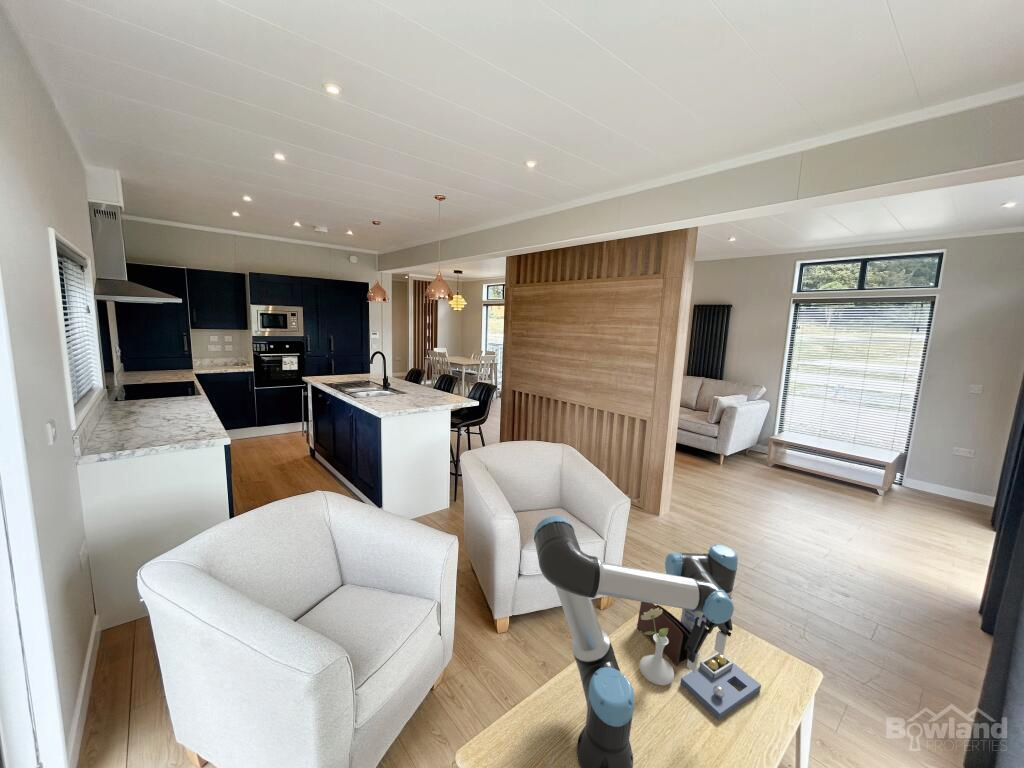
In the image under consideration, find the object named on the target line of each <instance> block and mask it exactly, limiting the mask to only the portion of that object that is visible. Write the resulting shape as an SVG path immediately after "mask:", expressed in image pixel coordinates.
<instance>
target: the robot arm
mask: <svg viewBox="0 0 1024 768" xmlns="http://www.w3.org/2000/svg"><path fill="white" fill-rule="evenodd" d="M533 533H534V534H533V536H534V537H533V541H534V544H535V549H536V554H537V560H538V565H539V569H540V571H541V574H542V575H543V577H544V578H545V579H546V580H547V581H548V582H549V583H550V584H551V585H552V586H554V587H555V589H556V593H557V596H558V599H559V601H560V603H561V607H562V610H563V612H564V616H565V619H566V621H567V624H568V627H569V630H570V633H571V636H572V639H573V640H572V642H571V652H572V654H573V657H574V660H575V663H576V666H577V668H578V672H579V676H580V680H581V684H582V688H583V694H584V697H585V701H586V708H587V709H586V719H585V720H586V721H585V725H584V727H583V728H582V730H581V732H580V733H579V735H578V738H577V743H576V744H577V745H576V757H577V758H578V759H577V758H576V759H577V762H578V765H579V766H580V768H634V767H633V766H634V754H633V751H632V745H631V742H630V737H631V728H632V723H633V722H632V721H633V714H634V711H635V694H634V690H633V689H634V688H633V685H632V683H631V682H630V680H629V679H628V678H627V676H626V675H624V674H622V672H621V669H620V667H619V664H618V661H617V658H616V655H615V652H614V647H613V645H612V643H611V640H610V638H609V635H608V634H607V633H606V631H604V630H603V629H601V625H600V623H599V619H598V616H597V614H596V611H595V608H594V604H593V601H592V599H594V598H596V597H598V596H601V595H602V596H606V597H612V598H617V599H624V600H630V601H635V602H640V603H641V602H647V603H653V604H654V605H659V606H666V607H670V608H671V607H672V608H677V609H681V610H682V609H688V610H694V611H699V612H703V616H702V618H699V617H696V620H695V624H694V627H693V629H692V631H691V634H690V636H689V638H688V640H687V643H686V645H685V649H686V650H687V651H688V652H689V655H688V661H687V662H686V663H687V664H686V667H687V668H688V669H689V670H690V671H691V672H692V671H693V672H694V673H696V672H697V668H698V666H699V665H698V664H699V659H700V652H699V651H700V649H701V648H702V646H703V644H704V642H705V640H706V639H707V636H708V635H709V634H710V635H711V634H712V632H713V630H714V629H715V628H718V629H719V630H717V632H716V636H715V643H714V651H716V653H717V652H718V653H720V654H721V655H724V656H725V649H726V642H727V637H731V636H732V633H731V632H732V631H733V627H734V626H733V623H732V616H733V614H734V611H735V609H734V607H735V606H734V604H733V601H732V600H733V596H732V595H733V591H734V584H735V580H736V575H737V571H738V561H739V560H738V555H737V553H736V552H735V551H734V550H733V549H731V548H730V547H729V546H726V545H722V544H714V545H711V546H710V547H709V550H708V553H693V552H692V553H691V552H671V553H668V554H667V556H666V557H665V560H664V567H665V568H664V569H665V573H664V572H660V571H659V572H658V571H653V570H648V569H642V568H636V567H631V566H624V565H619V564H616V563H615V564H614V563H609V562H608V563H607V562H603V561H600V559H599V557H598V556H593V555H589V554H586V553H585V552H583V551H582V550H581V547H580V545H579V542H578V538H577V537H576V533H575V529H574V526H573V525H572V524H571V523H570V521H569V520H568V519H566V518H565V517H561V516H559V515H558V516H557V515H553V516H552V515H551V516H547V517H546V518H544V519H542V520H540V522H539V523H538V524H537V525H536V527H535V529H534V532H533ZM705 627H707V629H706V628H705Z"/></svg>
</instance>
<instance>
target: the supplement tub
mask: <svg viewBox="0 0 1024 768" xmlns="http://www.w3.org/2000/svg"><path fill="white" fill-rule="evenodd" d="M680 615H681V616H680V622H681V623H682V624H684V625H685V626H686V627H687V628H688V629H689V630H690V631H692V629H693V627H694V624H695V620H696V617H699V618H702V616H703V612H699V611H694V610H688V609H682V608H681V614H680ZM705 628H706V629H708V627H705Z"/></svg>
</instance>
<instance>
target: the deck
mask: <svg viewBox="0 0 1024 768" xmlns="http://www.w3.org/2000/svg"><path fill="white" fill-rule="evenodd" d="M718 654H720V653H718V652H717V651H716V653H714V654H712V655H710V656H708V657H706V658H704V660H701V661H700V662H699V667H697V672H696V673H694V672H693V671H692V670H691V671H690V672H689V673H686V674H685V675H684V676H681V678H680V682H679V683H680V685H681V686H682V687H683V688H684V689H685V690H686V691H687V692H688V694H690V695H691V696H692V697H693V698H695V700H697V702H699V704H701V706H703V707H704V708H705V709H706V710H707V711H708V712H709V713H710V714H711V715H712V716H713V717H714V718H715V719H716V720H718V721H720V720H722V719H723V718H724V717H726V716H727V715H729V714H730V713H731V712H733V711H734V710H736V709H737V708H738V707H740V706H742V705H743V704H744V703H745V702H747V701H748V700H750V699H751V698H753V697H754V696H755V695H757V694H758V693H759V692H760V691H761V688H762V684H761V683H760V682H758V681H757V680H756V679H755V678H753V677H752V676H751V675H749V674H748V672H746V671H744V670H743V669H742V668H741V667H740V666H738V665H737V664H735V662H733V661H732V660H731V659H729V658H728V657H727V656H725V654H724V655H723V656H724V657H725V658H726V661H727V663H726V665H725V666H723V667H721V666H719V665H718V670H717V671H715V672H713V671H712V670H711V669H710V668H709V667H707V661H708V660H709V659H713V660H715V657H716V655H718ZM733 683H734V684H735V685H737V686H738V688H740V689H741V690H740V691H739V690H738V689H736V688H735V687H734V686H733V685H732V684H733ZM715 686H720V687H722V688H723V690H724V697H723V698H718V697H716V696H715V694H714V692H713V689H714V687H715Z"/></svg>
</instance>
